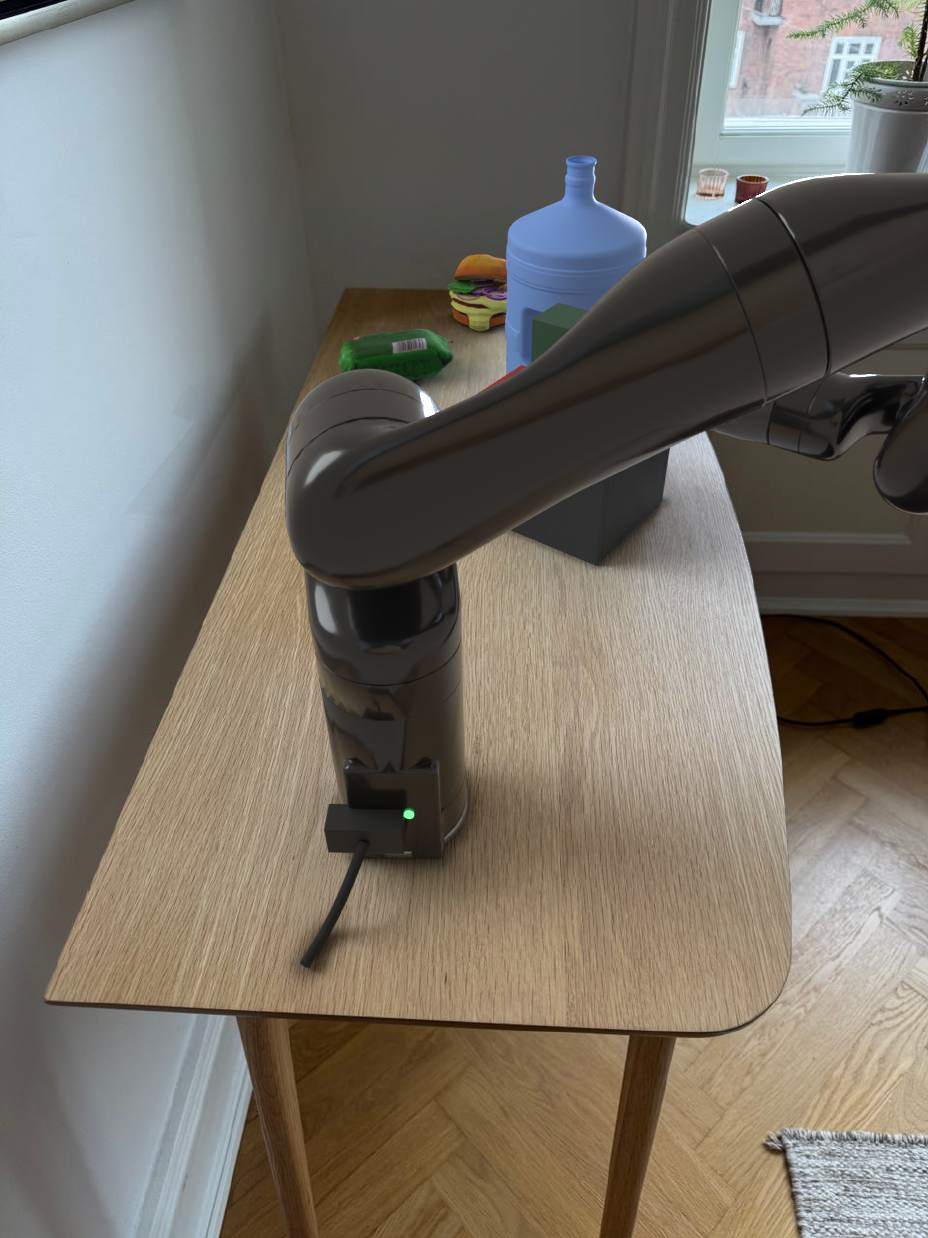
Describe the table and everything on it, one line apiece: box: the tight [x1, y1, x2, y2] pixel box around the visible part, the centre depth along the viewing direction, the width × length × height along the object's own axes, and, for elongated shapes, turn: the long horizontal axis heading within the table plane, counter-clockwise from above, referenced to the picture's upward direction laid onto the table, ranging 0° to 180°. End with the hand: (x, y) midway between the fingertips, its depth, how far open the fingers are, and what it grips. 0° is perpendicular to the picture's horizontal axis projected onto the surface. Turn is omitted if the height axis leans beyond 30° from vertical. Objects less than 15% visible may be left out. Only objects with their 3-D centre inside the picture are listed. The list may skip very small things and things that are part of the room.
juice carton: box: [531, 303, 588, 363], centre depth 87 cm, size 4×6×10 cm
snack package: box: [337, 328, 455, 382], centre depth 119 cm, size 7×16×5 cm, turn 105°
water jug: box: [504, 155, 648, 375], centre depth 106 cm, size 16×16×28 cm
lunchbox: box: [511, 447, 671, 566], centre depth 94 cm, size 18×14×10 cm
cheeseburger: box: [446, 254, 507, 332], centre depth 132 cm, size 10×11×10 cm
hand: (572, 342), depth 85 cm, fingers open, 8 cm apart
